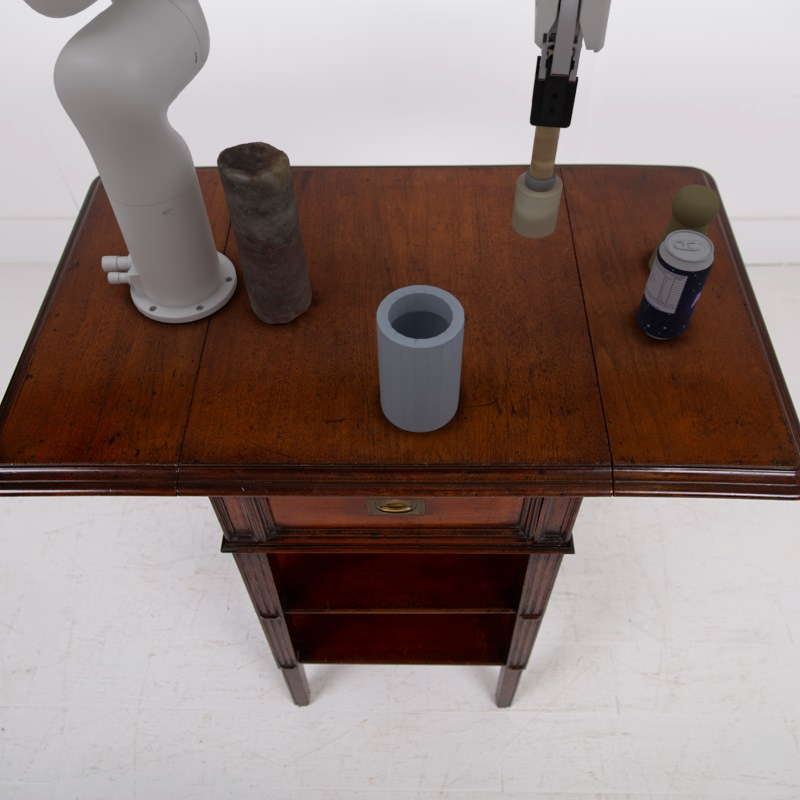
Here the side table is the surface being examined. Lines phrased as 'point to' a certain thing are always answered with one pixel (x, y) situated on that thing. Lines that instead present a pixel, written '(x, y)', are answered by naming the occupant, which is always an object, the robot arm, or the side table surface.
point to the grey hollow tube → (420, 356)
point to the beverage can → (675, 284)
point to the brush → (539, 187)
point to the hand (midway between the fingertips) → (550, 113)
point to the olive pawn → (691, 212)
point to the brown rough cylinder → (266, 229)
